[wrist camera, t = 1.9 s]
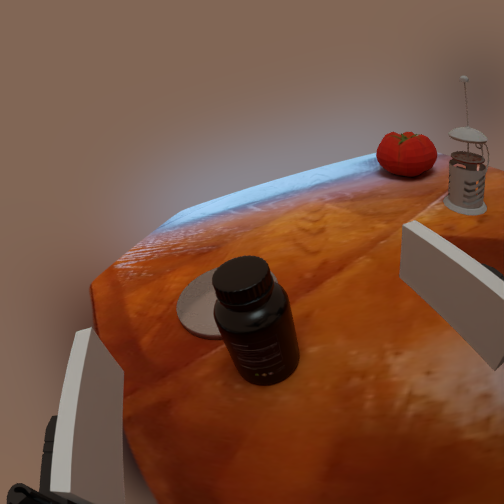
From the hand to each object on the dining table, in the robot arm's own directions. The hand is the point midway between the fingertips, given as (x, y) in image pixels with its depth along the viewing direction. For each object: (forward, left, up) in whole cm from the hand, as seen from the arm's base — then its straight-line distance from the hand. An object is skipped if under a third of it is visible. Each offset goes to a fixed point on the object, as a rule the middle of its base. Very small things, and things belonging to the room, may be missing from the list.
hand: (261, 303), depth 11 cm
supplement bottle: (0, -12, -18) cm, 22 cm away
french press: (-47, -26, -18) cm, 57 cm away
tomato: (-48, -47, -18) cm, 70 cm away
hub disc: (+2, -24, -18) cm, 30 cm away
